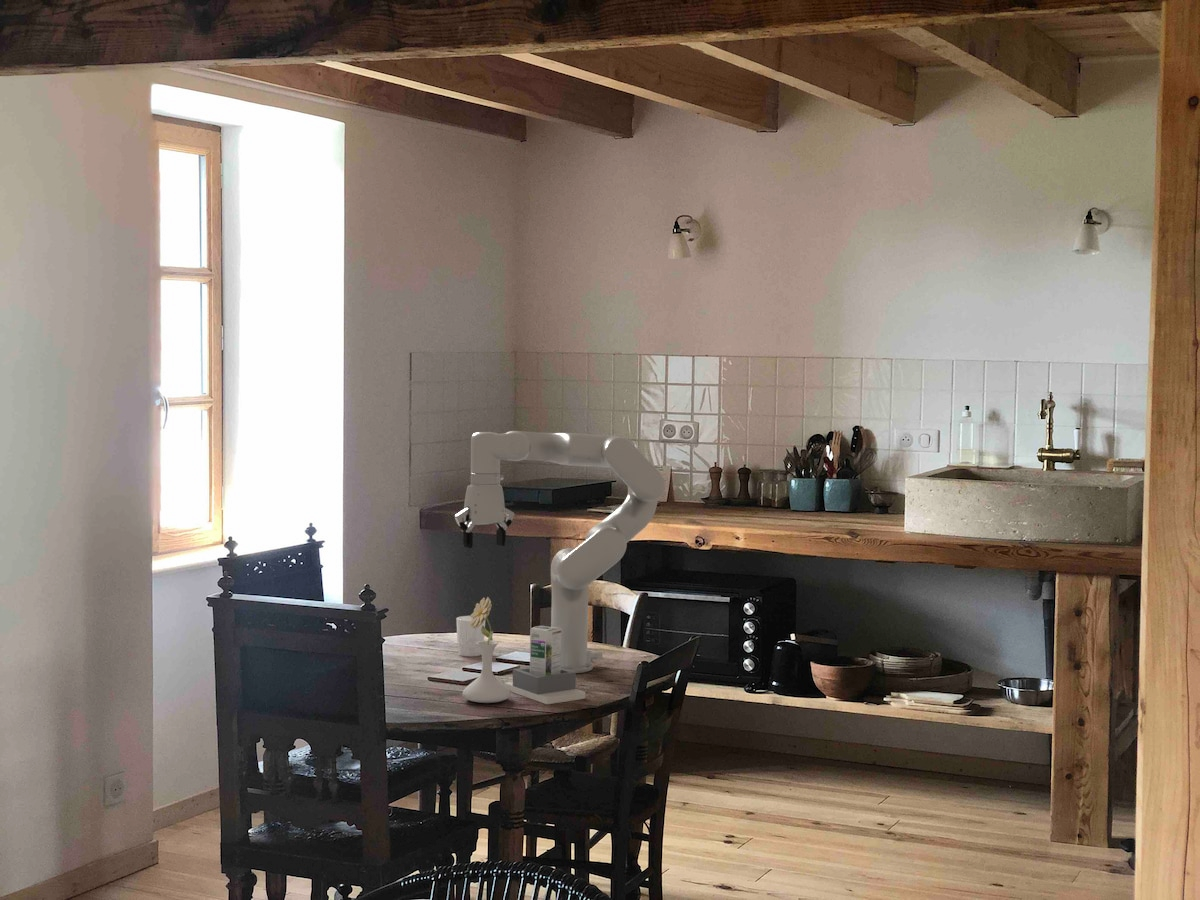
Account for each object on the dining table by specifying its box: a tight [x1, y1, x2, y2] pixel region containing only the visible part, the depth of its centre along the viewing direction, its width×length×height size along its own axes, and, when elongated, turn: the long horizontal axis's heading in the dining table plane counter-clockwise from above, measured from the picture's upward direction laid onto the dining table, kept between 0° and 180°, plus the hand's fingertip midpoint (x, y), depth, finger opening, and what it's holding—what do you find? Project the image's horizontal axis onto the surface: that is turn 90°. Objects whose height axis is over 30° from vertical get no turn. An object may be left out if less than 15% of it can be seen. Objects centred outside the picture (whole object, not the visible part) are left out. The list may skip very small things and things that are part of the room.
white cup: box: [455, 615, 486, 658], centre depth 375 cm, size 8×8×10 cm
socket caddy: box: [503, 666, 586, 705], centre depth 330 cm, size 11×19×6 cm, turn 36°
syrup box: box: [529, 625, 561, 676], centre depth 329 cm, size 6×6×14 cm
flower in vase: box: [462, 596, 512, 704], centre depth 320 cm, size 13×11×25 cm
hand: (484, 546), depth 353 cm, fingers open, 9 cm apart
